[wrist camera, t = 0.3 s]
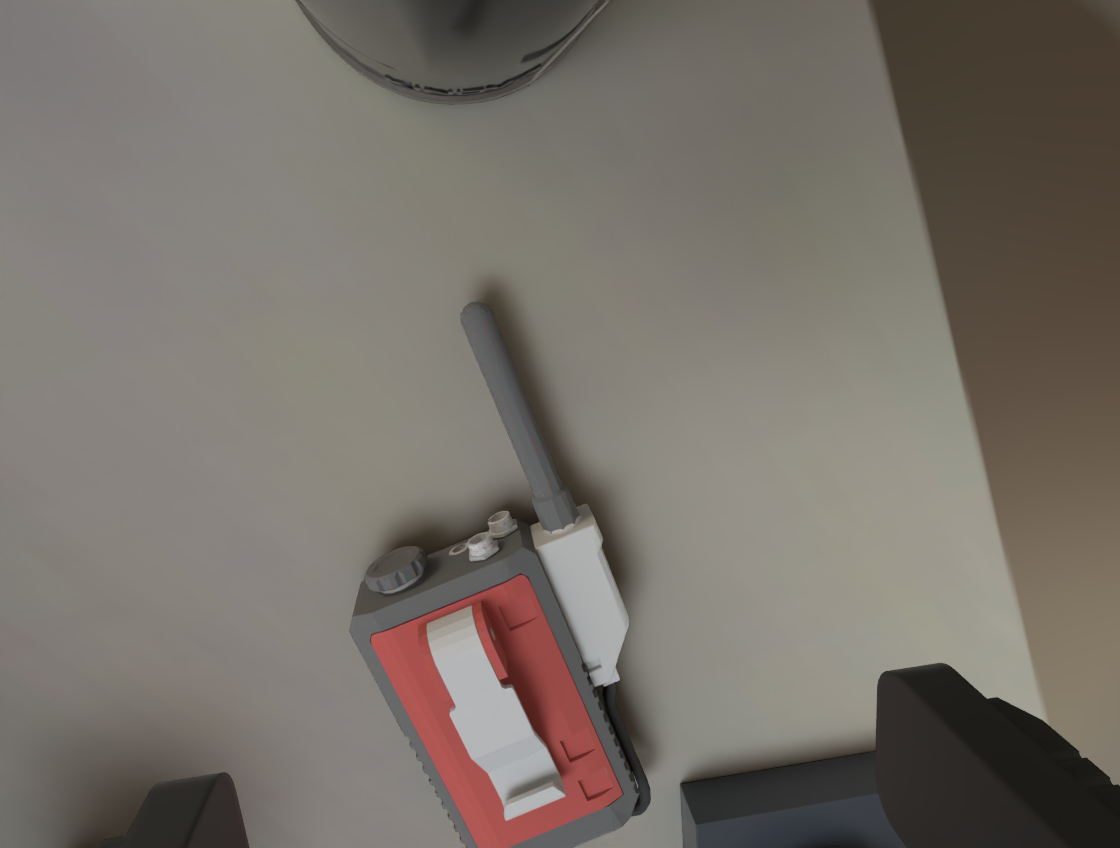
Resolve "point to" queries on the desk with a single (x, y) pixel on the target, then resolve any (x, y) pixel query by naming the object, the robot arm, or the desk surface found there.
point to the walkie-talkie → (509, 654)
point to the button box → (790, 808)
